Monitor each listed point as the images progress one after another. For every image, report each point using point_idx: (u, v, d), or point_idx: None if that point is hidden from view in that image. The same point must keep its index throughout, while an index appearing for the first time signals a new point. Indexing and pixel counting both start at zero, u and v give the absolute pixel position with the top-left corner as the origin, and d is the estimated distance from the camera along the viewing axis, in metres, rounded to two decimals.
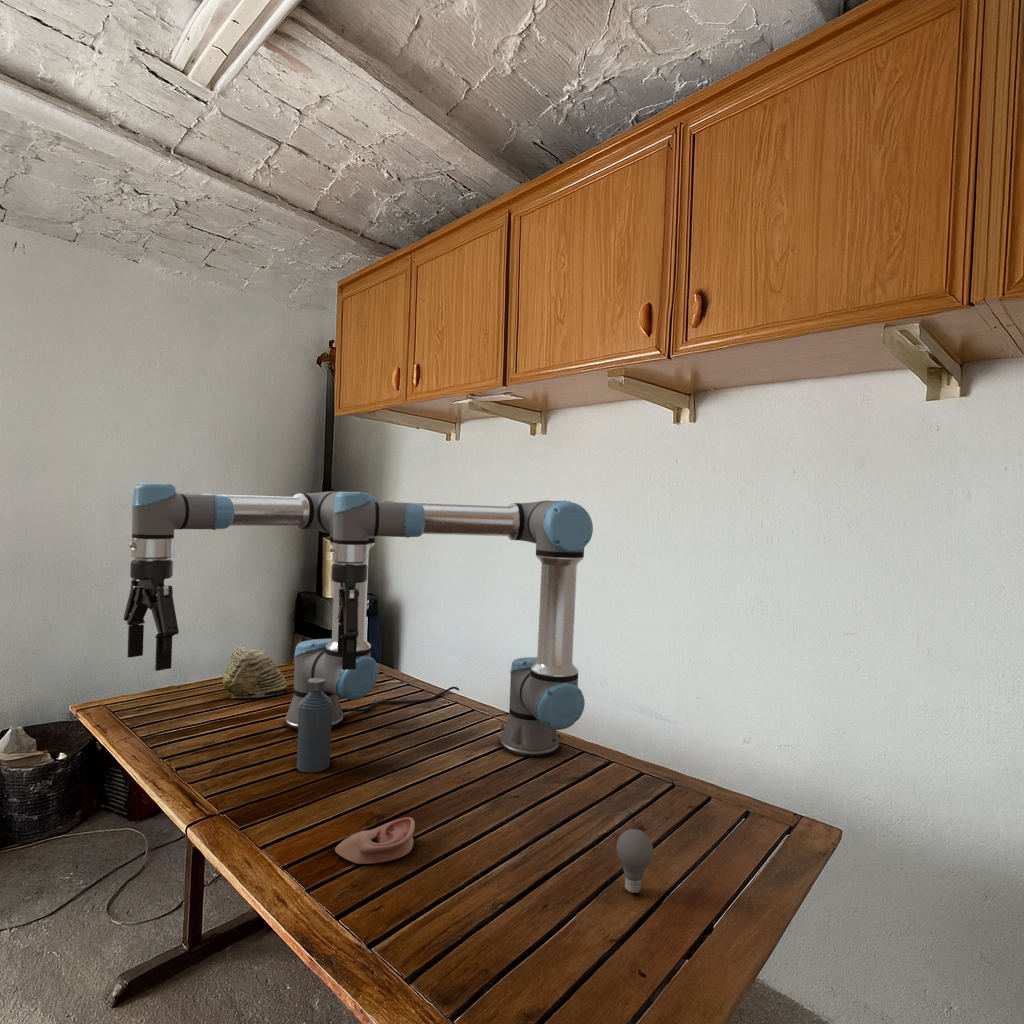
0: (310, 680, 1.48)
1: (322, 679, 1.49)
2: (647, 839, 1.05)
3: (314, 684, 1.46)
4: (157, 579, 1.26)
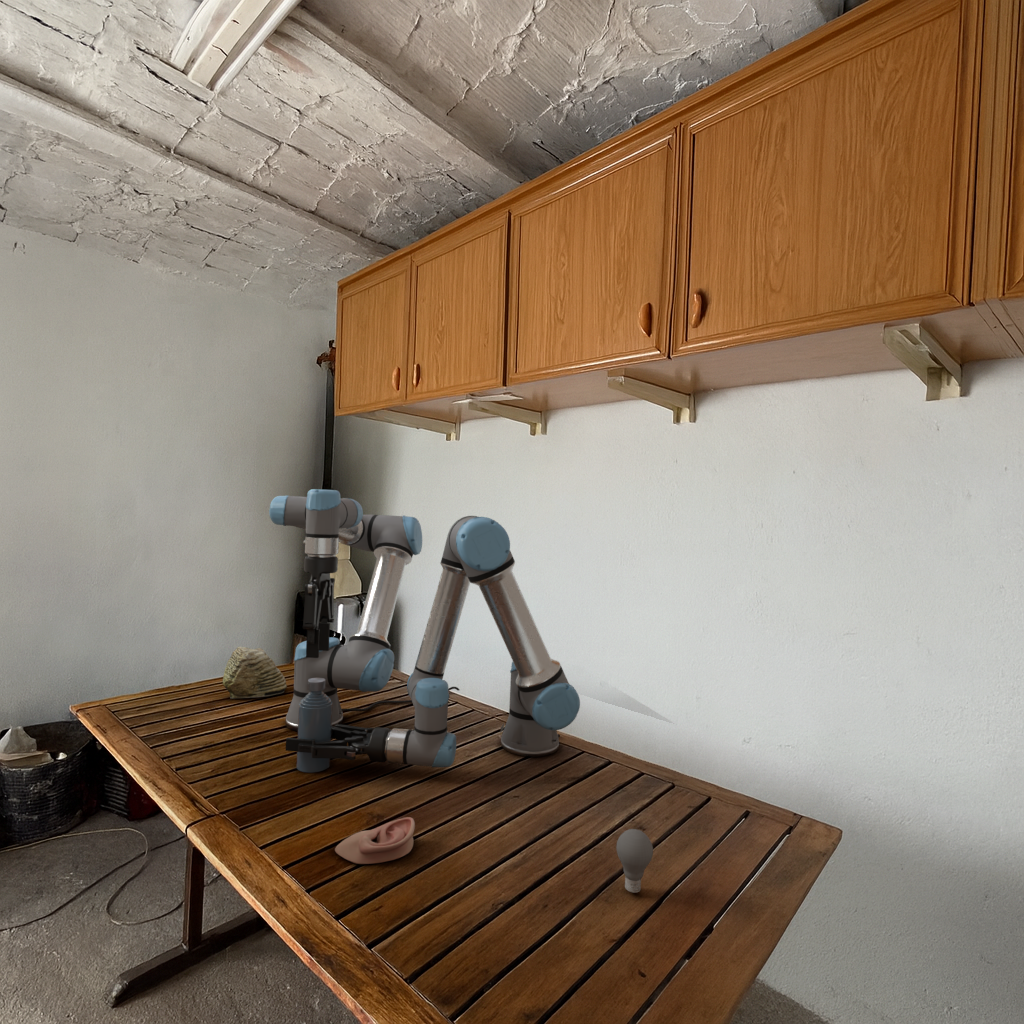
0: (310, 680, 1.48)
1: (322, 679, 1.49)
2: (647, 839, 1.05)
3: (314, 684, 1.46)
4: (313, 573, 1.44)
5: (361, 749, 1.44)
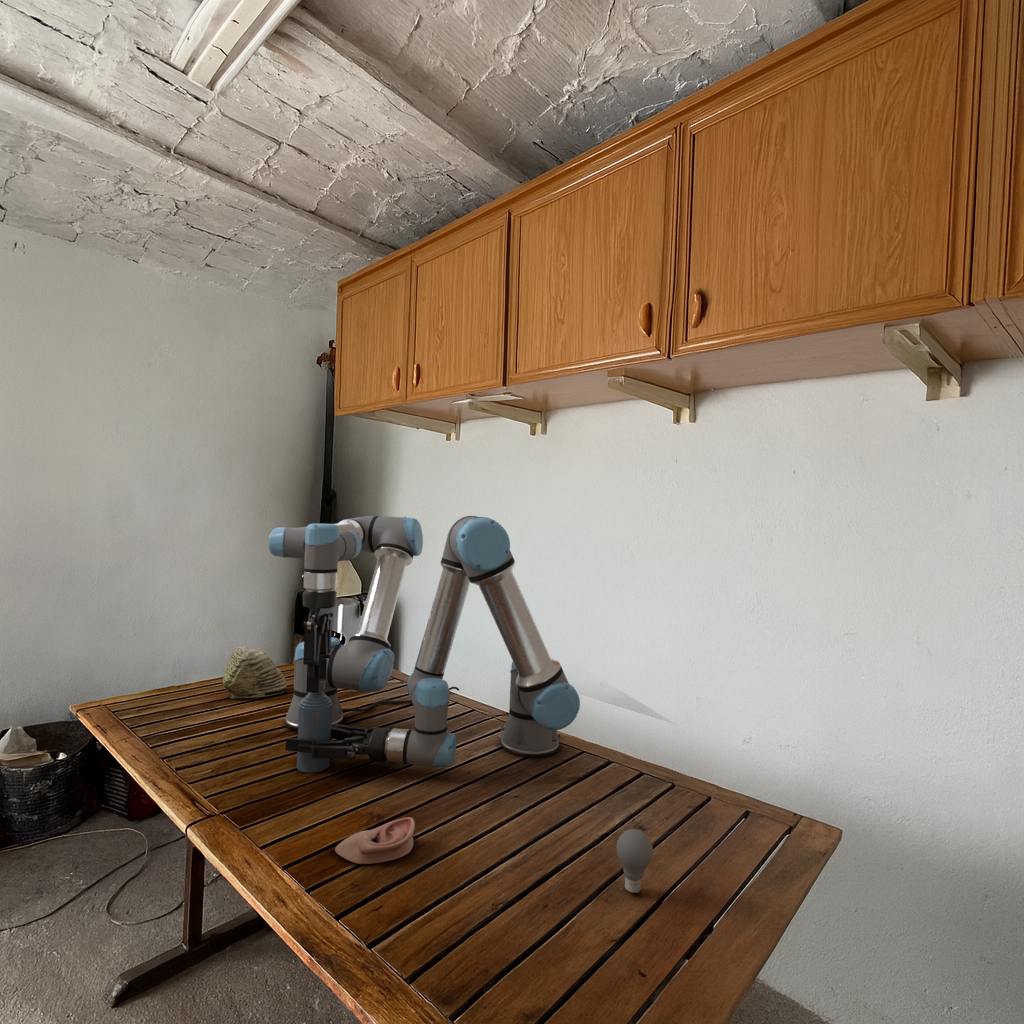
0: None
1: (322, 679, 1.49)
2: (647, 839, 1.05)
3: None
4: (312, 608, 1.44)
5: (361, 749, 1.44)
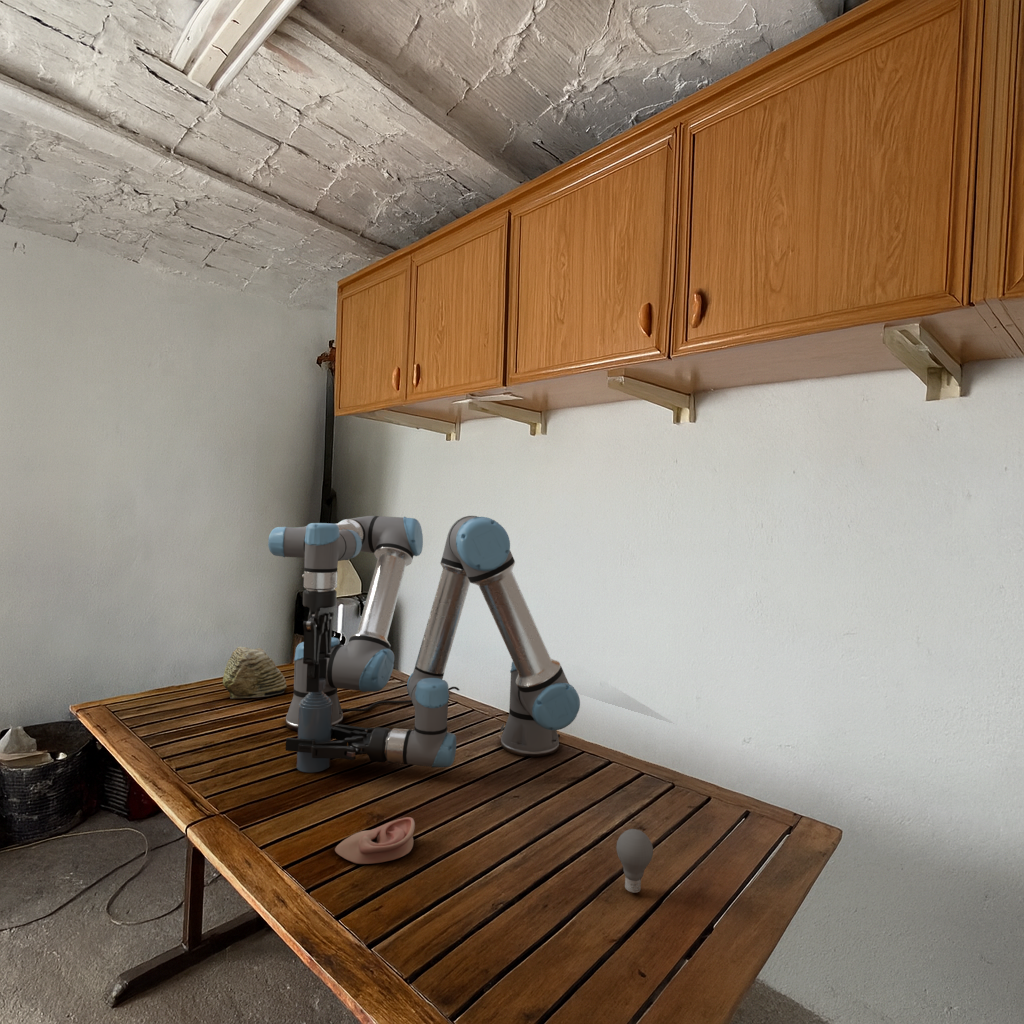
0: (320, 680, 1.48)
1: None
2: (647, 839, 1.05)
3: None
4: (312, 608, 1.44)
5: (361, 749, 1.44)
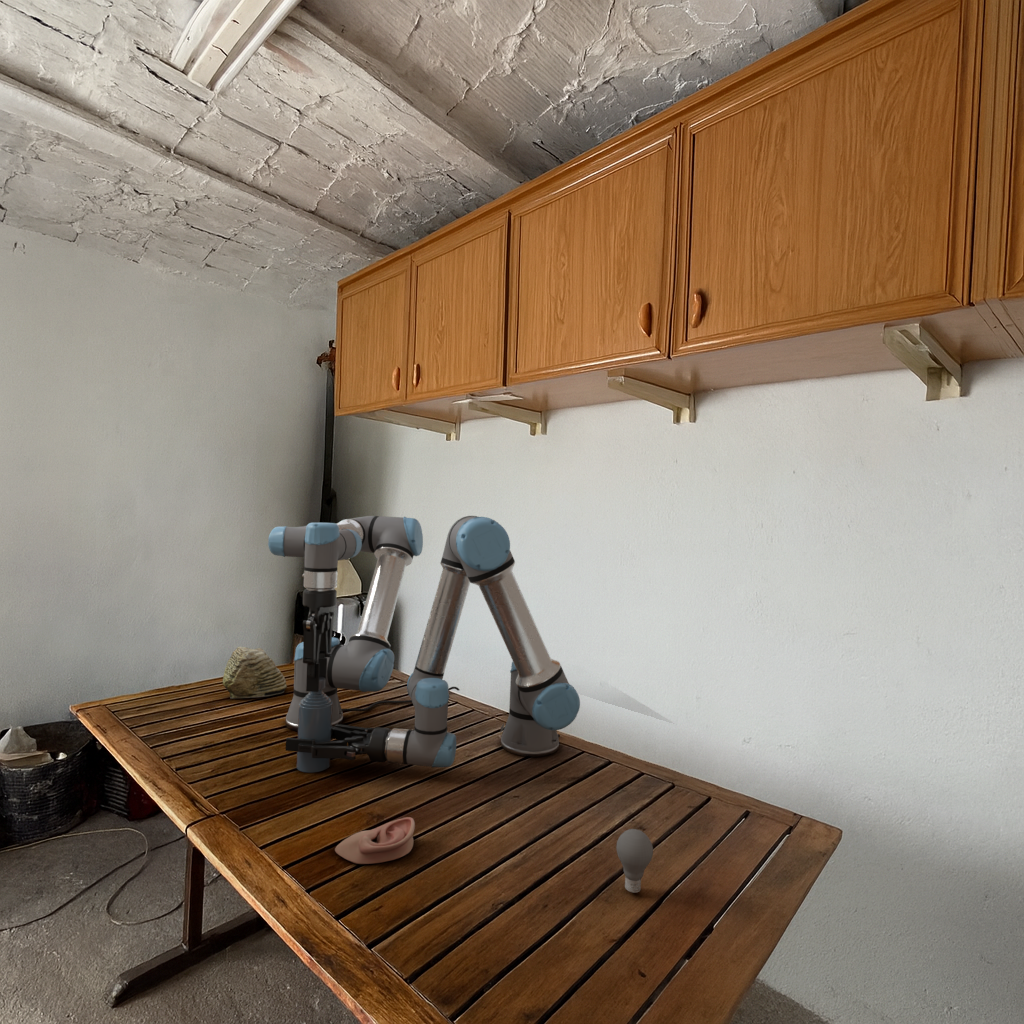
0: (319, 677, 1.50)
1: None
2: (647, 839, 1.05)
3: None
4: (311, 607, 1.44)
5: (361, 749, 1.44)
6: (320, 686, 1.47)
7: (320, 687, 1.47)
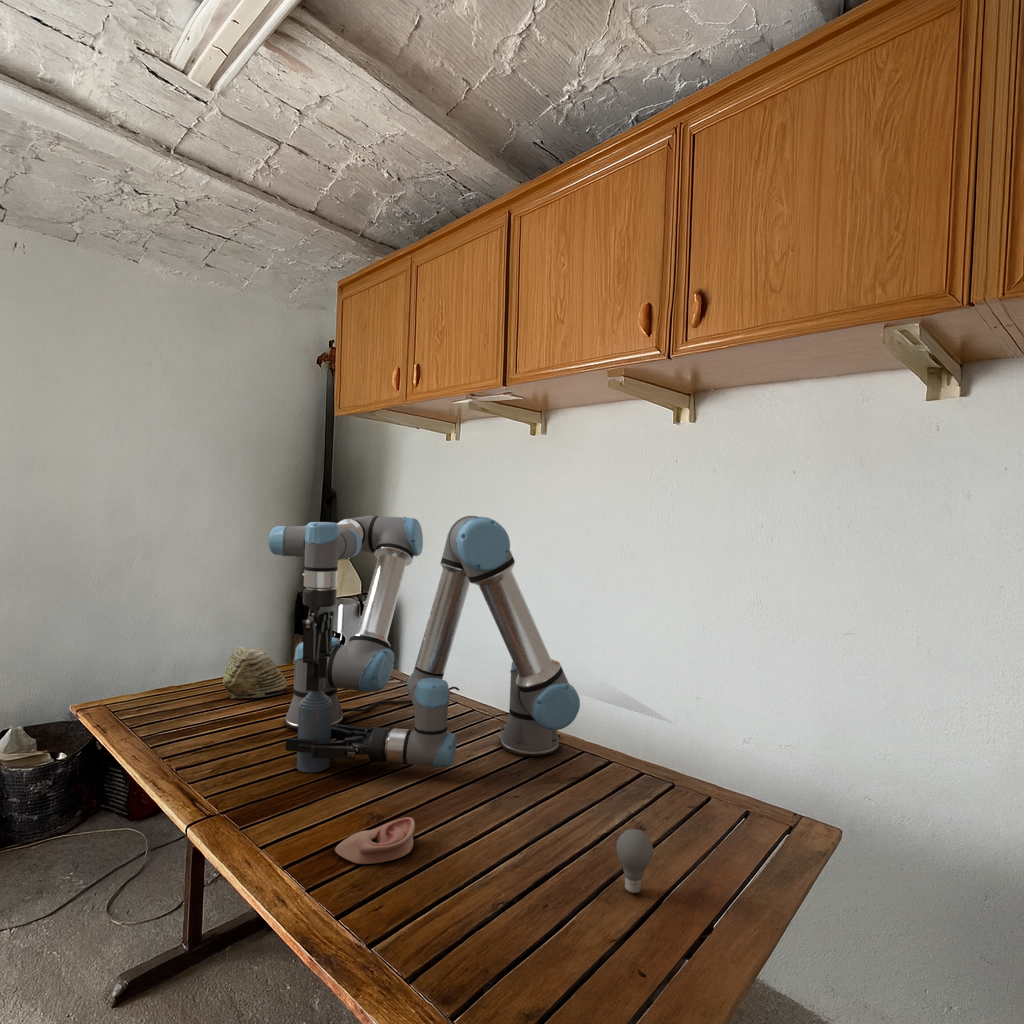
0: None
1: (322, 677, 1.49)
2: (647, 839, 1.05)
3: None
4: (311, 607, 1.44)
5: (361, 749, 1.44)
6: None
7: None
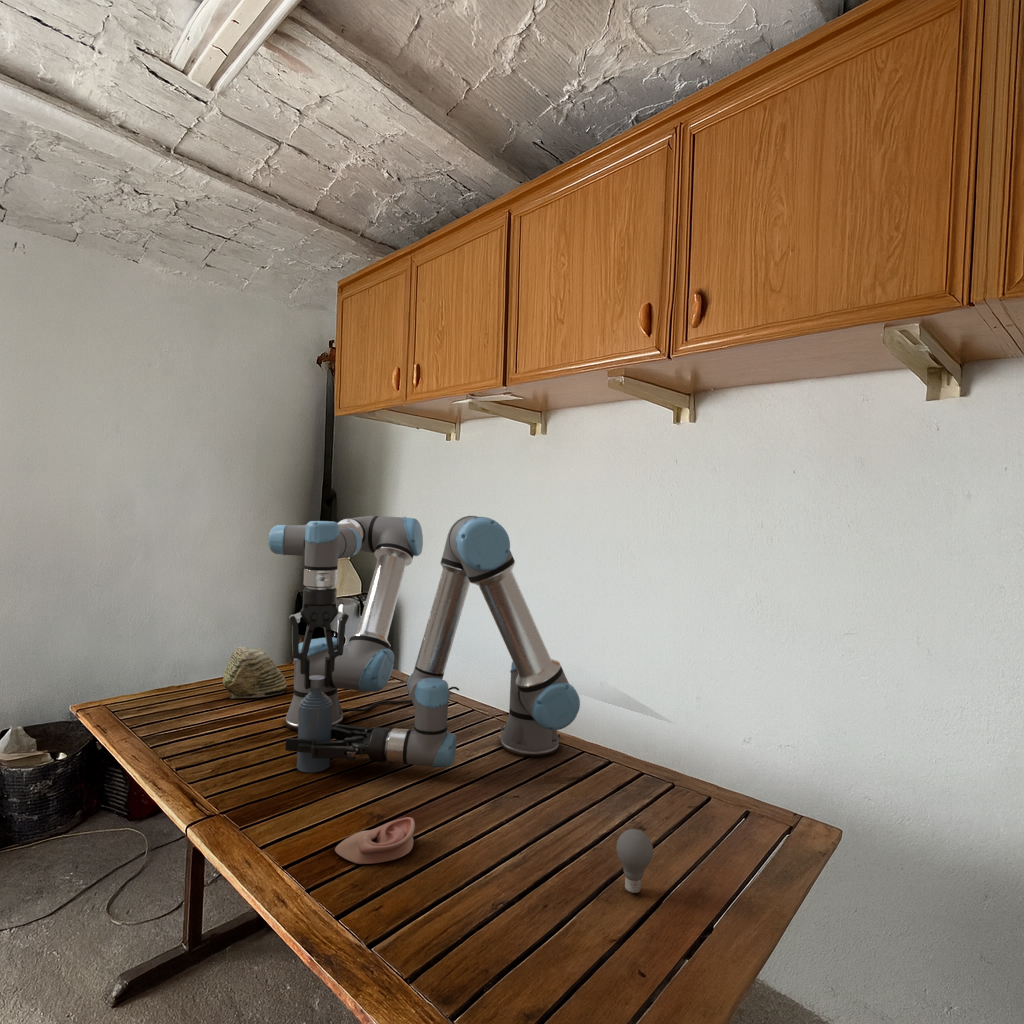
0: (320, 678, 1.48)
1: (313, 676, 1.49)
2: (647, 839, 1.05)
3: None
4: None
5: (361, 749, 1.44)
6: None
7: None
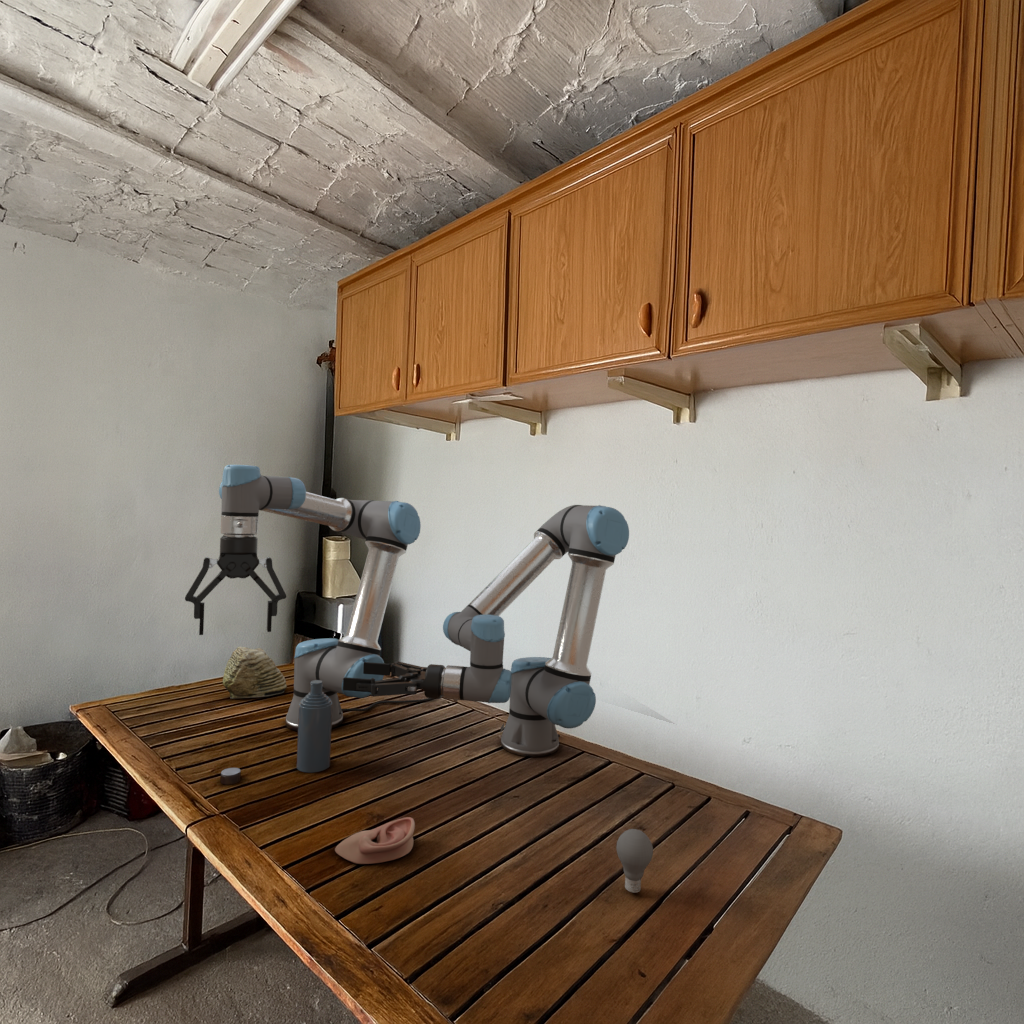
0: (234, 773, 1.38)
1: (227, 769, 1.40)
2: (647, 839, 1.05)
3: None
4: None
5: (418, 684, 1.42)
6: None
7: None
